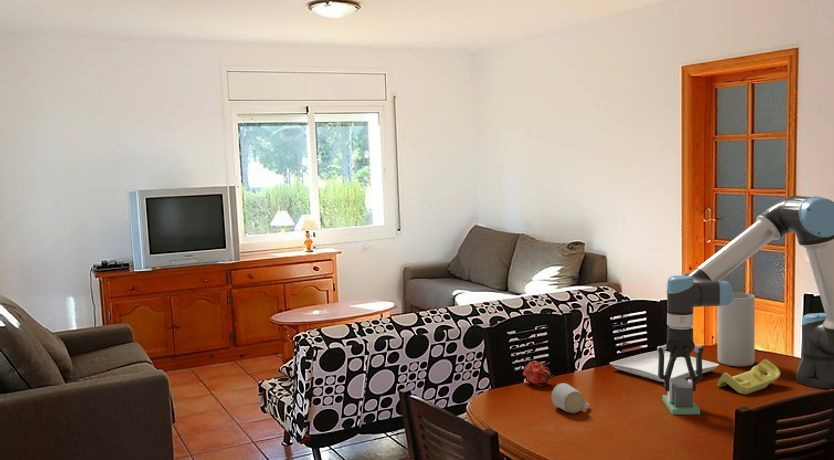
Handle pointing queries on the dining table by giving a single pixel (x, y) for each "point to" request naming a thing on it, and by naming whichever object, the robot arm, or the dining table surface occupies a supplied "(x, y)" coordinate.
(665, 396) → the header board
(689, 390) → the plug housing
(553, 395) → the ceramic mug
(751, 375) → the plastic component
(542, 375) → the dragon fruit
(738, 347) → the cylinder vase
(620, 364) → the square plate
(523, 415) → the dining table surface
